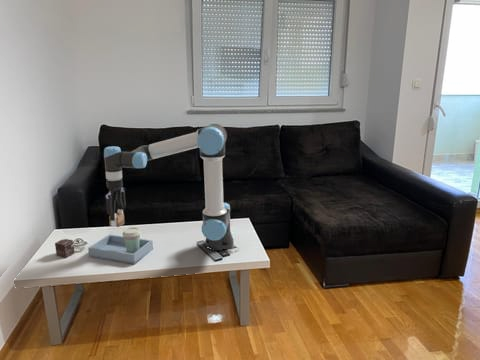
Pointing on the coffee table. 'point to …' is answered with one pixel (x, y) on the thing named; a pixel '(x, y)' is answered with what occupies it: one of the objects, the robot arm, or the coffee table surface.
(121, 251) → the tray
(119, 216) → the walnut cube
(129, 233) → the coffee cup
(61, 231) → the coffee table surface
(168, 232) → the coffee table surface
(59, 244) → the box
